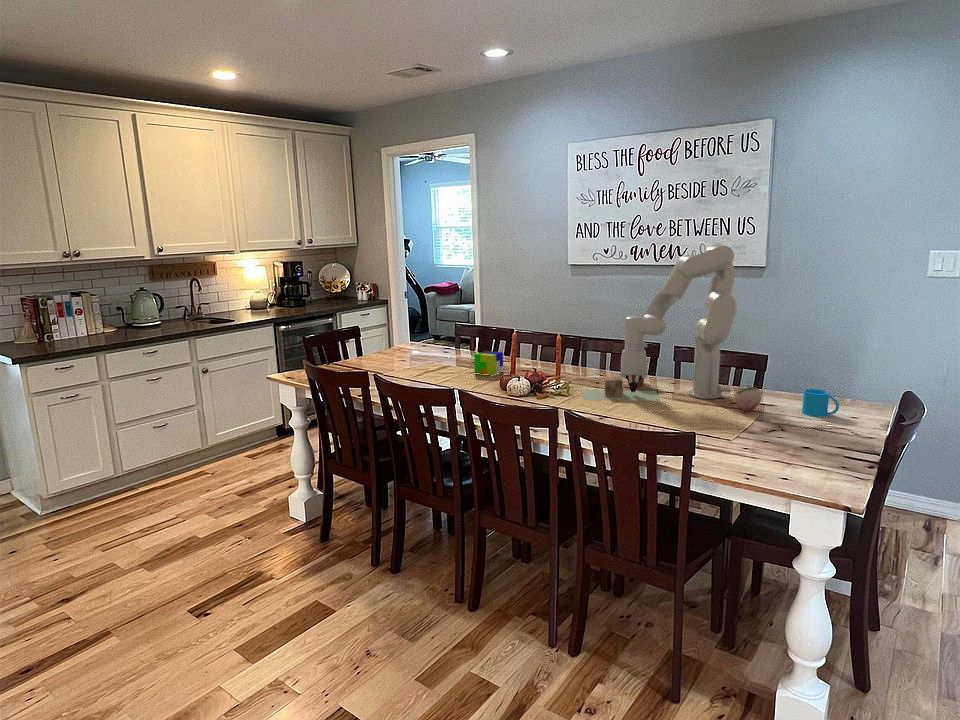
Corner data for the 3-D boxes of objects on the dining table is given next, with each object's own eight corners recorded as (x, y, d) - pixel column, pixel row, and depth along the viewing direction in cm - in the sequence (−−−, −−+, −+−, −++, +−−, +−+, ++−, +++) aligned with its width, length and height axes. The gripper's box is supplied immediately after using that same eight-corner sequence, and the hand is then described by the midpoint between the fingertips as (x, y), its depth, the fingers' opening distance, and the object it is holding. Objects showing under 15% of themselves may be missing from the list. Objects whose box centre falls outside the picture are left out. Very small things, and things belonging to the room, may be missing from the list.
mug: (798, 413, 232) (799, 391, 231) (807, 409, 238) (809, 387, 236) (833, 420, 224) (835, 397, 222) (842, 415, 229) (844, 393, 227)
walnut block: (622, 376, 264) (604, 376, 265) (623, 380, 257) (605, 380, 258) (621, 393, 265) (604, 392, 266) (623, 397, 258) (605, 397, 259)
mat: (655, 392, 267) (655, 391, 267) (660, 401, 253) (660, 400, 252) (582, 391, 271) (582, 390, 271) (582, 400, 257) (582, 399, 257)
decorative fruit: (747, 407, 242) (749, 381, 240) (764, 412, 234) (766, 386, 232) (727, 410, 238) (729, 384, 236) (743, 416, 231) (745, 389, 229)
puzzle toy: (503, 372, 311) (502, 352, 309) (492, 376, 302) (492, 355, 301) (485, 370, 316) (484, 350, 314) (474, 374, 308) (474, 354, 306)
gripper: (652, 345, 260) (651, 389, 263) (614, 345, 262) (613, 389, 266) (654, 348, 252) (653, 394, 256) (615, 348, 255) (615, 393, 258)
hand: (633, 391), depth 261 cm, fingers closed
